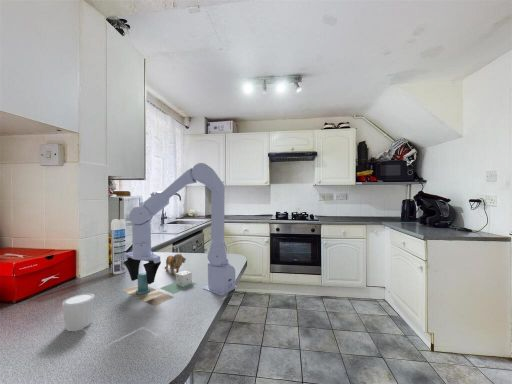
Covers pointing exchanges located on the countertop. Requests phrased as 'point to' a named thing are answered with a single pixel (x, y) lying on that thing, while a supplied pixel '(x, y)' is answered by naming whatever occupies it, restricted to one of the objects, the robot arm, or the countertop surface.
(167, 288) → the felt pad
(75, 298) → the white cylinder
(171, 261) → the lion figurine
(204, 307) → the countertop surface
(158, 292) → the track
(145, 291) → the pawn
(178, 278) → the die
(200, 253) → the countertop surface
